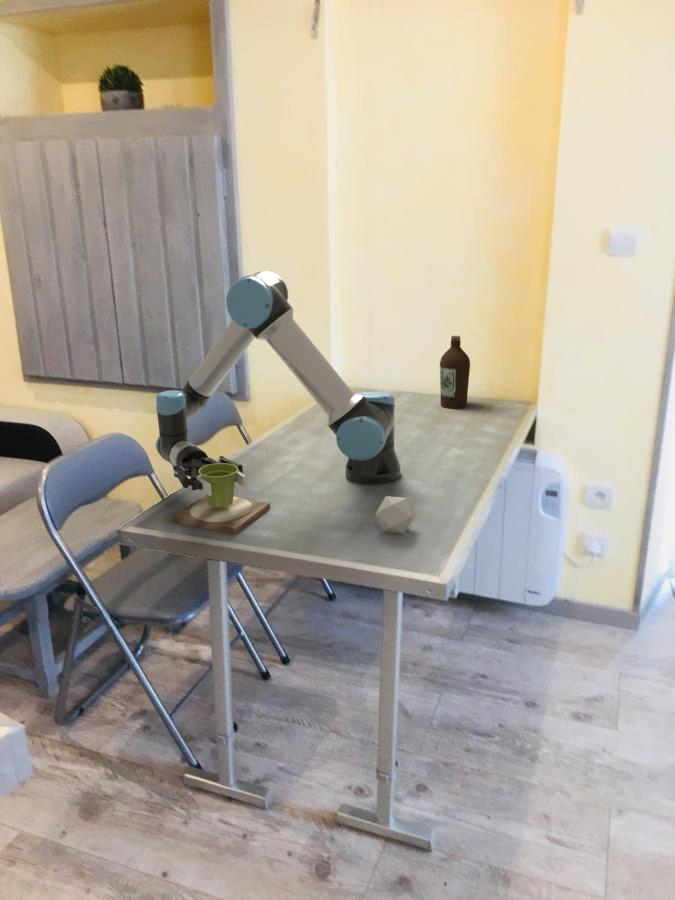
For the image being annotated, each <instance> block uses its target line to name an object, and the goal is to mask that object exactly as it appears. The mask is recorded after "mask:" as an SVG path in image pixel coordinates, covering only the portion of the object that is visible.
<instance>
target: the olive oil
mask: <svg viewBox="0 0 675 900" xmlns="http://www.w3.org/2000/svg"><path fill="white" fill-rule="evenodd" d="M470 371H471V360H470V357H469V355H468V354H467V352H465V350H463V349H462V347H461V336H460V335H452V336H451V340H450V347H449V348H448V349H447V350H446V352H444V353H443V355H442V356H441V358H440V361H439V376H440V377H439V378H440V379H439V381H440V386H439V387H440V406H441V407H442V408H445V409H457V410H458V409H464V408H466V407H467V406H468V393H469V382H470V381H469V380H470Z"/></svg>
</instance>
